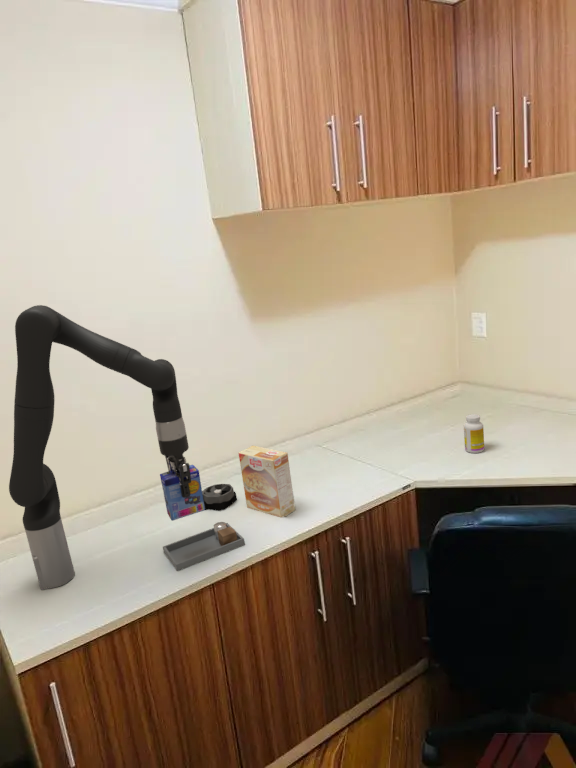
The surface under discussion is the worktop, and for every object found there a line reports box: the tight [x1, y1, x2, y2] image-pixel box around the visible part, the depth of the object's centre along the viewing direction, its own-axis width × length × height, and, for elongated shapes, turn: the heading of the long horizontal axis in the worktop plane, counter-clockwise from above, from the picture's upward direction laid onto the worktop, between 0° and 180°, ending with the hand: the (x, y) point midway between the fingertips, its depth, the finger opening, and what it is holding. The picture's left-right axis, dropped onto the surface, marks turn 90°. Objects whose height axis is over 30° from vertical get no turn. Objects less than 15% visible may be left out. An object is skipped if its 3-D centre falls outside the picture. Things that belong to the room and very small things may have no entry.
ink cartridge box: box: [159, 464, 206, 521], centre depth 159 cm, size 10×6×14 cm, turn 117°
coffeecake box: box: [238, 445, 296, 518], centre depth 183 cm, size 15×7×20 cm, turn 49°
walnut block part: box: [217, 526, 237, 546], centre depth 166 cm, size 4×4×4 cm
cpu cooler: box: [202, 483, 238, 512], centre depth 192 cm, size 10×6×10 cm
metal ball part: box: [213, 521, 227, 540], centre depth 170 cm, size 4×4×4 cm
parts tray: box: [162, 522, 246, 572], centre depth 165 cm, size 20×12×2 cm, turn 119°
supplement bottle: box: [463, 413, 485, 454], centre depth 208 cm, size 7×7×13 cm
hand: (182, 492), depth 160 cm, fingers closed on ink cartridge box, 5 cm apart
